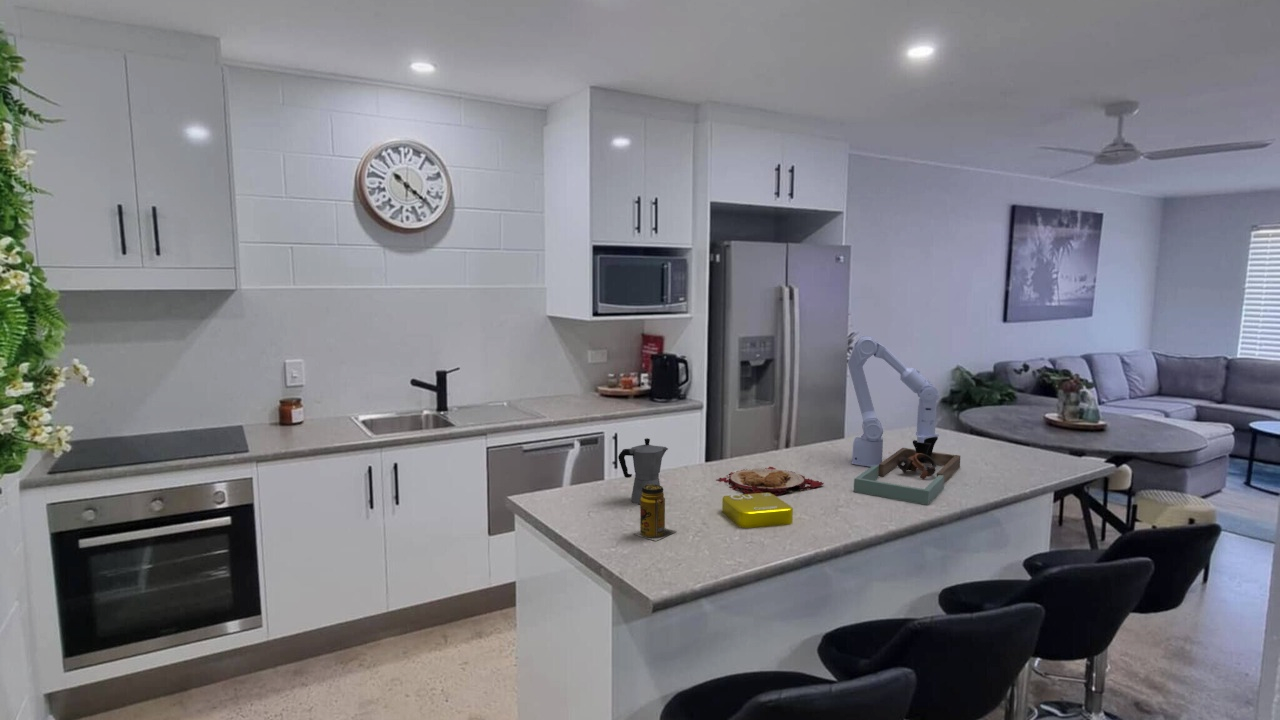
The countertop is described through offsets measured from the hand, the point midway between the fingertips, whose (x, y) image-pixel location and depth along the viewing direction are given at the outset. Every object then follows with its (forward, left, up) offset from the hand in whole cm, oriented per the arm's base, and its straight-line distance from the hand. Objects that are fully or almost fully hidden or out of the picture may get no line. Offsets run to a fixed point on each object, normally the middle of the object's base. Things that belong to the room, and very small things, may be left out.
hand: (924, 459), depth 231 cm
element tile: (-24, -78, -3) cm, 81 cm away
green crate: (0, -30, -3) cm, 30 cm away
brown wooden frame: (0, -6, -3) cm, 6 cm away
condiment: (-39, -104, -3) cm, 111 cm away
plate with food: (-36, -48, -4) cm, 60 cm away
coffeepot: (-56, -85, -3) cm, 102 cm away
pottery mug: (0, -11, -3) cm, 11 cm away
